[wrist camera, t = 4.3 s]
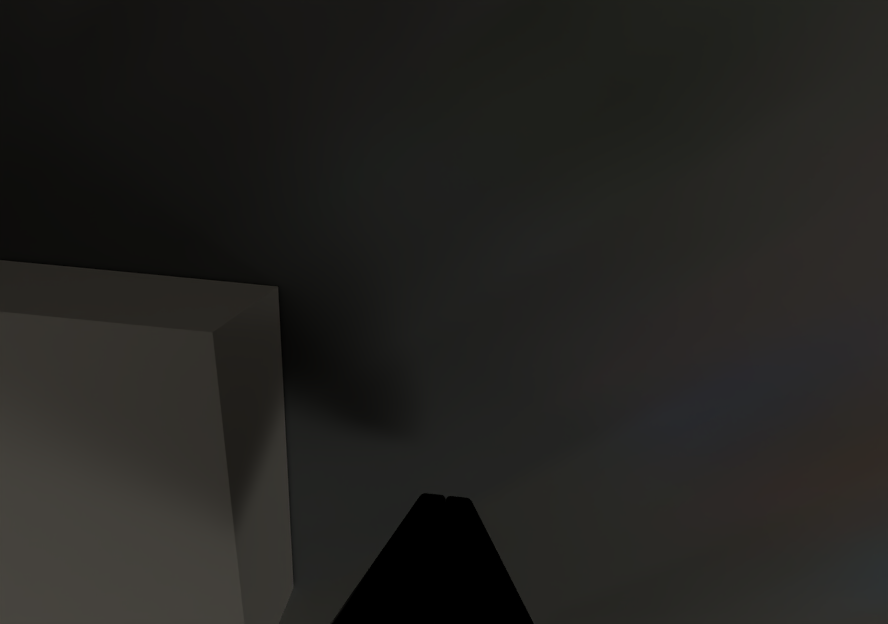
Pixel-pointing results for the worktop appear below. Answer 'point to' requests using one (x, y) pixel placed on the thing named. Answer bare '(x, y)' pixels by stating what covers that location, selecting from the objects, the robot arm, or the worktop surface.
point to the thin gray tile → (141, 449)
